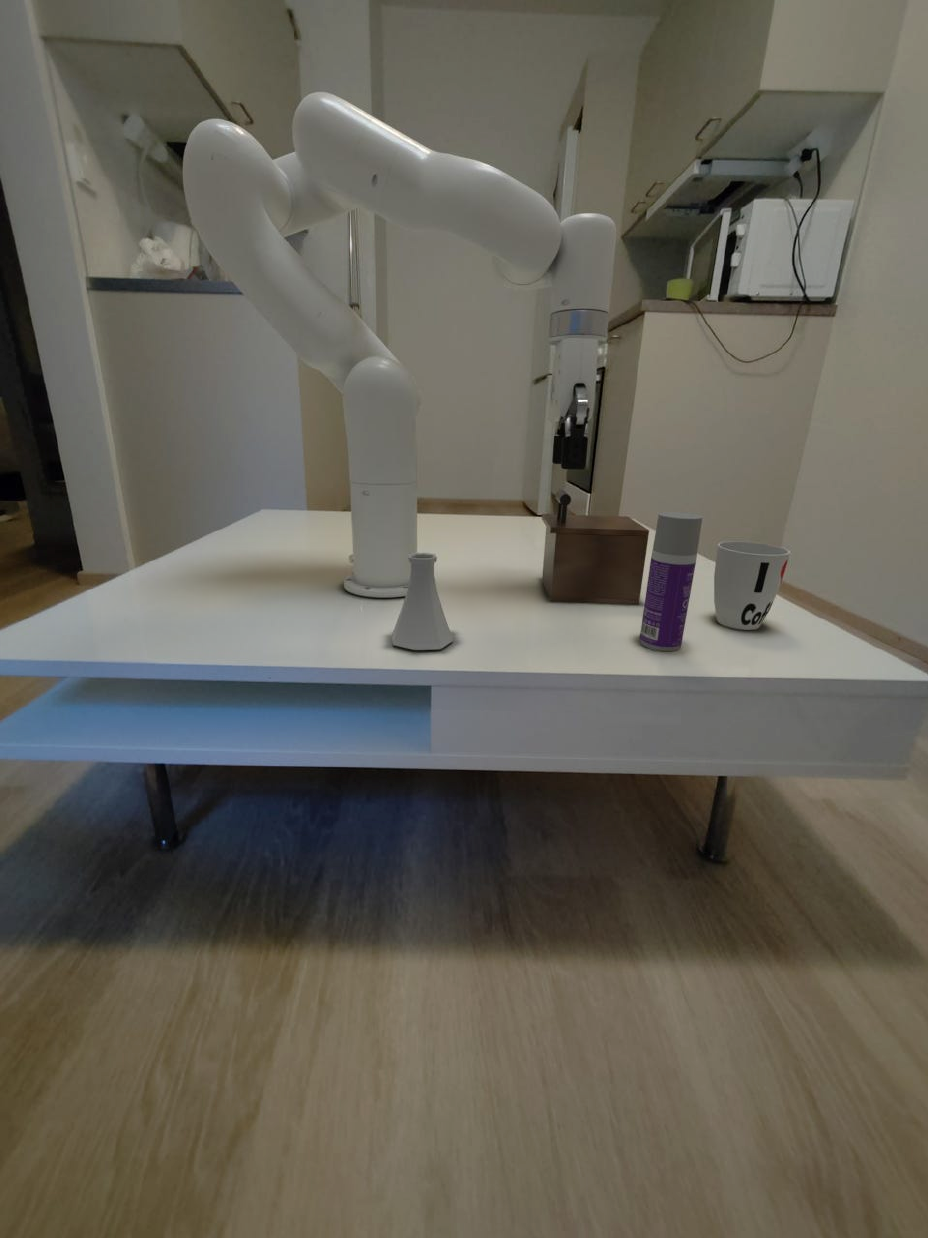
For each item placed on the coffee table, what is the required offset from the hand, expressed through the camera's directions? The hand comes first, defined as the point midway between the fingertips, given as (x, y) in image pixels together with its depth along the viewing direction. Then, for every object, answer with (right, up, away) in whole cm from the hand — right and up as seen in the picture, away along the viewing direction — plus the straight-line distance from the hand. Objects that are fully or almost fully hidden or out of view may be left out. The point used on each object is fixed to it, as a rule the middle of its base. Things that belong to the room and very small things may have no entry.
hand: (567, 466), depth 77 cm
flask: (-19, -24, -14) cm, 34 cm away
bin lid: (+4, -8, +3) cm, 9 cm away
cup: (+21, -22, -6) cm, 31 cm away
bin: (+4, -17, +6) cm, 19 cm away
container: (+8, -25, -13) cm, 29 cm away
